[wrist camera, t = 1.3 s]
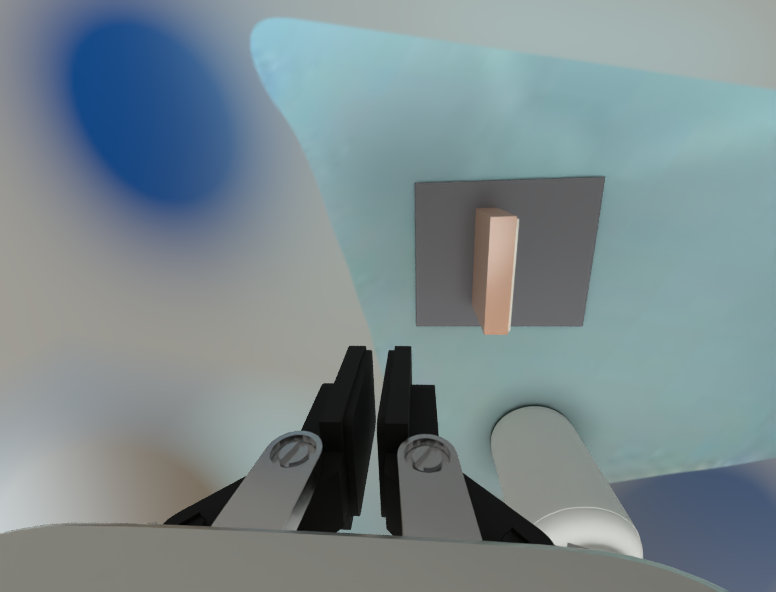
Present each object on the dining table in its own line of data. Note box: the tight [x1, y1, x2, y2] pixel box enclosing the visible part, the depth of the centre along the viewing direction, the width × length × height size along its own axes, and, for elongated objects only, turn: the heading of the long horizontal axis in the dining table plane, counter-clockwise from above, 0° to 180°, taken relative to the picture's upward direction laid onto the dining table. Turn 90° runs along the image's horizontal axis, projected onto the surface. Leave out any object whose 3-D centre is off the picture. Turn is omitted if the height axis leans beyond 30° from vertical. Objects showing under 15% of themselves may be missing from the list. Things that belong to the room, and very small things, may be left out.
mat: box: [415, 177, 605, 326], centre depth 29 cm, size 14×12×1 cm
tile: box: [472, 207, 519, 335], centre depth 26 cm, size 2×8×6 cm, turn 2°
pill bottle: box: [491, 406, 643, 559], centre depth 28 cm, size 8×8×15 cm
